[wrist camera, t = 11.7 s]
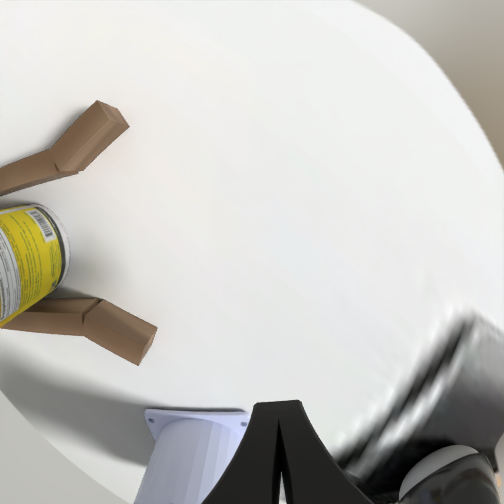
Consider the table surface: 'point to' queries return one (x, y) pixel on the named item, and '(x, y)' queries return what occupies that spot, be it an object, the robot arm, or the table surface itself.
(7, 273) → the pill bottle
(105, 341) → the wooden u-shaped bracket
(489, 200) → the table surface
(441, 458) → the dark grey egg-shaped device
